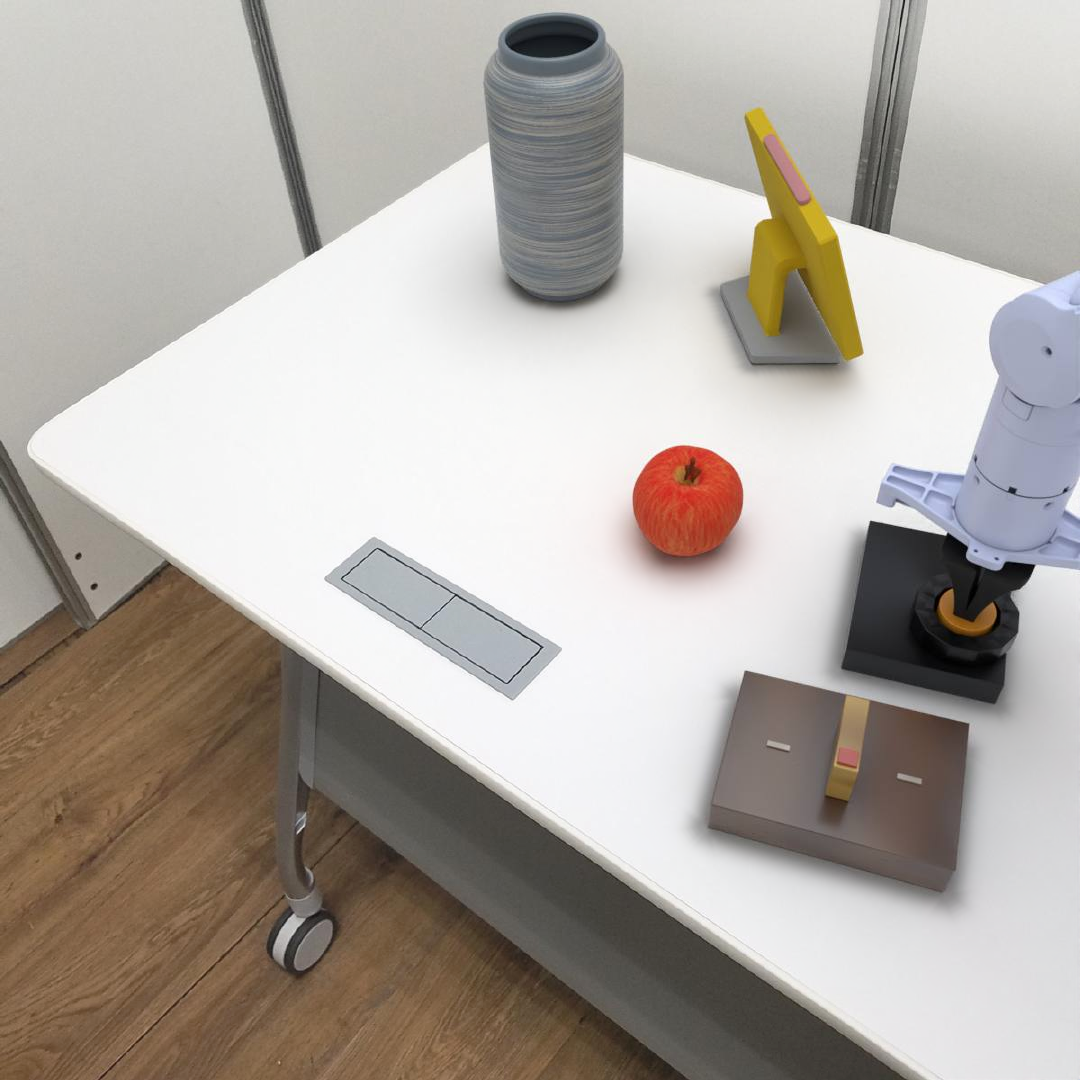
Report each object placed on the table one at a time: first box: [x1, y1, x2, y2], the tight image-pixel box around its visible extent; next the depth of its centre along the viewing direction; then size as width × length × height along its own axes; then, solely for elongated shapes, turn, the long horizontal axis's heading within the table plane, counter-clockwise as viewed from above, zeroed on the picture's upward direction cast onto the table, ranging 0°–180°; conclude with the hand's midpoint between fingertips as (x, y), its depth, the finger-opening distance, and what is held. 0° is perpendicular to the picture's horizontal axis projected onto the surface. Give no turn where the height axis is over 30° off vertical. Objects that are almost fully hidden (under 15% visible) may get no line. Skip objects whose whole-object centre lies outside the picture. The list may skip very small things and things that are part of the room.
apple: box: [631, 444, 744, 557], centre depth 80 cm, size 8×8×8 cm
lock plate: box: [707, 669, 970, 893], centre depth 67 cm, size 14×10×3 cm
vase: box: [482, 11, 625, 302], centre depth 97 cm, size 12×12×23 cm
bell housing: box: [840, 520, 1020, 705], centre depth 75 cm, size 10×12×4 cm
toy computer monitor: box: [719, 106, 865, 364], centre depth 93 cm, size 20×8×16 cm, turn 9°
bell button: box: [935, 589, 997, 637], centre depth 72 cm, size 4×4×2 cm
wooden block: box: [825, 694, 870, 801], centre depth 65 cm, size 5×1×4 cm, turn 161°
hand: (967, 608), depth 72 cm, fingers closed, pressing on bell button
